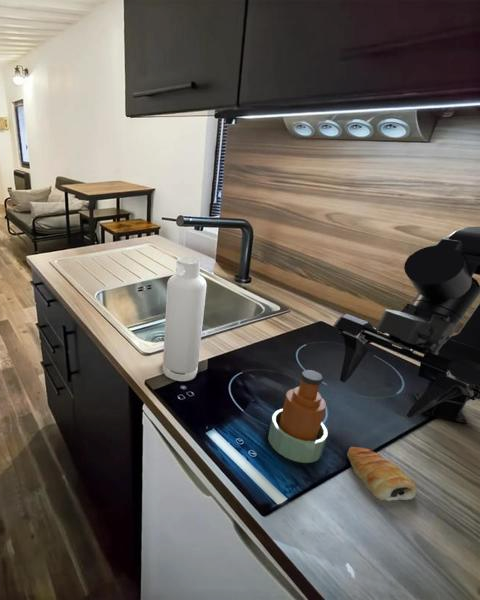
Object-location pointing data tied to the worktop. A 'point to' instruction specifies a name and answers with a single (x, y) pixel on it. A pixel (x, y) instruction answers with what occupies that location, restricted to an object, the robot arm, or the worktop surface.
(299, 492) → the worktop surface
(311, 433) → the amber bottle
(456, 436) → the worktop surface
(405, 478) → the pastry
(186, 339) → the bottle
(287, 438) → the green bowl
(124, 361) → the worktop surface
